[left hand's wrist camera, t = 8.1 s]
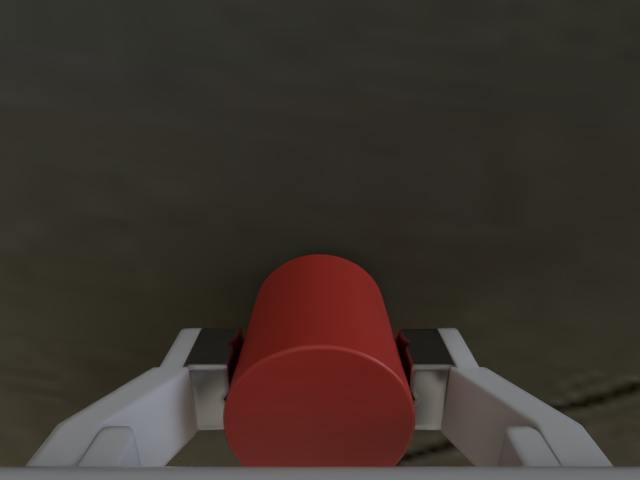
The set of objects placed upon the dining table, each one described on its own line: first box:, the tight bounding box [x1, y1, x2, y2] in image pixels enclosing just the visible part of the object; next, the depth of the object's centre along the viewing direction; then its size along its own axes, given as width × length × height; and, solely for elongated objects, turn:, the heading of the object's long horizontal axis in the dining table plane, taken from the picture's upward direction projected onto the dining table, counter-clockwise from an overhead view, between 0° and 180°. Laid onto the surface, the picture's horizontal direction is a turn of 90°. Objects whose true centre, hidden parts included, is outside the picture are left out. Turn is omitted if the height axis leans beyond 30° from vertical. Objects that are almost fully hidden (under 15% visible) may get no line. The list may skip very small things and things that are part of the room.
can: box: [223, 254, 416, 467], centre depth 10 cm, size 4×4×4 cm
